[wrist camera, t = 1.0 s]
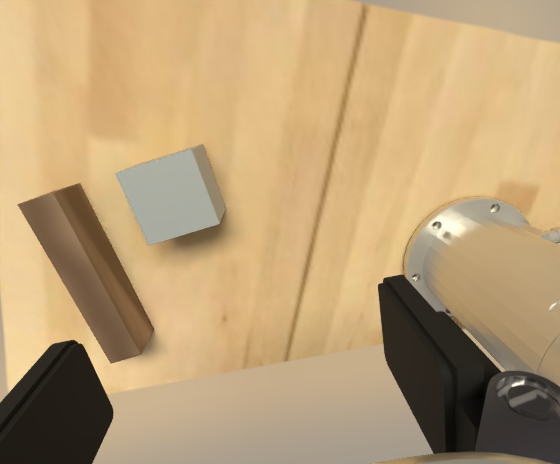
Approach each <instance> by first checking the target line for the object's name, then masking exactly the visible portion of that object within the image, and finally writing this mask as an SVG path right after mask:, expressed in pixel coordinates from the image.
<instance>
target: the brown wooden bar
mask: <svg viewBox="0 0 560 464" xmlns="http://www.w3.org/2000/svg"><path fill="white" fill-rule="evenodd" d="M18 206H19V208H20V209H21V211H22V213H23V215H24V216H25V218H26V220H27V221H28V223H29V225H30V227H31V228H32V230H33V232H34V233H35V235H36V237H37V238H38V240H39V242H40V244H41V245H42V247H43V249H44V250H45V252H46V254H47V256H48V257H49V259H50V261H51V262H52V264H53V266H54V267H55V269H56V271H57V273H58V274H59V276H60V278H61V279H62V281H63V283H64V285H65V286H66V288H67V290H68V291H69V293H70V295H71V296H72V298H73V300H74V302H75V303H76V305H77V307H78V308H79V310H80V312H81V314H82V315H83V317H84V319H85V320H86V322H87V324H88V326H89V327H90V329H91V331H92V332H93V334H94V336H95V337H96V339H97V341H98V343H99V344H100V346H101V348H102V349H103V351H104V353H105V355H106V356H107V358H108V360H109V361H110V363H115V362H118V361H121V360H125V359H128V358H132V357H135V356H139V355H141V354H142V352H143V350H144V348H145V346H146V344H147V342H148V340H149V338H150V336H151V334H152V332H153V330H154V328H153V326H152V324H151V322H150V320H149V318H148V316H147V314H146V312H145V310H144V309H143V307H142V305H141V303H140V301H139V299H138V297H137V295H136V293H135V291H134V289H133V287H132V285H131V283H130V281H129V279H128V277H127V275H126V273H125V271H124V269H123V267H122V265H121V263H120V261H119V260H118V258H117V256H116V254H115V252H114V250H113V248H112V246H111V244H110V242H109V240H108V238H107V236H106V234H105V232H104V230H103V228H102V226H101V224H100V222H99V220H98V218H97V216H96V214H95V212H94V210H93V209H92V207H91V205H90V203H89V201H88V199H87V197H86V195H85V193H84V191H83V189H82V187H81V185H80V183H79V184H75V185H72V186H69V187H66V188H63V189H60V190H57V191H54V192H50V193H47V194H45V195H42V196H39V197H37V198H34V199H31V200H29V201H26V202H23V203H20V204H18Z"/></svg>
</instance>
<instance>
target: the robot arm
mask: <svg viewBox="0 0 560 464" xmlns="http://www.w3.org/2000/svg"><path fill="white" fill-rule="evenodd" d="M433 223H434V224H433ZM556 243H560V227H557V228H553V229H551V230H549V231H546V232H544V231H542V230H539V229H537V228H535V227H532V226H530V224H529V222H528V220H527V219H526V217H525V216H524V215H523V214H522V213H521V211H519V210H518V209H516V208H515V207H514V206H512V205H510V204H508V203H506V202H503V201H501V200H497V199H494V198H491V197H480V196H476V197H467V198H462V199H459V200H456V201H452V202H450V203H448V204H446V205H444V206H442V207H440V208H439V209H438V210H436V211H435V212H433V213H432V214H431V215H429V216H428V217H427V218H426V219H425V220H424V221H423V222H422V223H421V224H420V226H419V227H418V228H417V230H416V231H415V232H414V234H413V235H412V238H411V240H410V242H409V244H408V246H407V249H406V253H405V257H404V274H405V276H404V275H397V276H392V277H387V278H384V279H383V283H381V284H379V285H378V292H379V302H380V312H381V323H382V333H383V343H384V353H385V357H386V361H387V364H388V366H389V368H390V370H391V372H392V374H393V376H394V378H395V380H396V382H397V384H398V386H399V388H400V389H401V391H402V393H403V395H404V397H405V399H406V401H407V403H408V405H409V407H410V409H411V410H412V413H413V415H414V416H415V418H416V420H417V422H418V424H419V426H420V428H421V430H422V432H423V434H424V436H425V438H426V440H427V442H428V443H429V445H430V447H431V449H432V451H433V453H434V454H430V455H421V456H414V457H407V458H401V459H395V460H389V461H383V462H377V463H371V464H560V245H558V244H556ZM449 316H451V317H456V319H457V320H458V321H459V322H460V323H461V324H462V325H463V326H464V327H465V328H466V329H467V330H468V331H469V332H470V333H471V334H472V335H473V336H474V337H475V339H476V340H477V341H478V342H479V343H480V344H481V345H482V346H483V347H484V348H485V349H486V350H487V351H488V352H489V353H490V354H491V356H492V357H493V358H494V359H495V360H496V361H497V362H498V363H499V364H500V365H501V366H502V367H503V368H504V369H505V370H506V371H505V372H501V371H500V370H499V369H498V368H497V367H496V366H495V365H494V364H493V362H492V361H491V360H490V359H489V358H488V357H487V356H486V355H485V354H484V353H483V352H482V351H481V350H480V349H479V348H478V346H476V344H475V343H474V342H473V341H472V340H471V339H470V338H469V337H468V336H467V335H466V334H465V333H464V332H463V331H462V330H461V328H460V327H459V326H458V325H457V324H456V323H455V322H454V321H453V320H452V319H451V318H450V317H449ZM112 419H113V408H112V405H111V403H110V401H109V399H108V397H107V395H106V392H105V390H104V388H103V386H102V384H101V382H100V380H99V378H98V375H97V373H96V371H95V369H94V367H93V365H92V363H91V361H90V358H89V356H88V354H87V352H86V350H85V348H84V346H83V345H82V344H78V342H76V341H75V340H70V341H65V342H60V343H55V344H52V345H51V346H50V347H49V348H48V349H47V350H46V352H45V353H44V354H43V355H42V356H41V357H40V358H39V359H38V361H37V362H36V363H35V364H34V365H33V366H32V367H31V369H30V370H29V371H28V372H27V373H26V374H25V375H24V377H23V378H22V379H21V380H20V381H19V382H18V383H17V384H16V386H15V387H14V388H13V389H12V390H11V391H10V392H9V394H8V395H7V396H6V397H5V398H4V399H3V400H2V402H1V403H0V464H92V463H93V460H94V458H95V456H96V454H97V452H98V450H99V448H100V445H101V443H102V441H103V439H104V437H105V435H106V433H107V430H108V428H109V426H110V424H111V422H112Z"/></svg>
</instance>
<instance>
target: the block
mask: <svg viewBox="0 0 560 464" xmlns="http://www.w3.org/2000/svg"><path fill="white" fill-rule="evenodd" d="M115 175H116V177H117V179H118V181H119V183H120V185H121V187H122V190H123V192H124V194H125V196H126V198H127V200H128V202H129V205H130V207H131V209H132V211H133V213H134V215H135V217H136V220H137V222H138V224H139V226H140V228H141V230H142V233H143V235H144V237H145V239H146V241H147V243H148V245H152V244H155V243H158V242H162V241H165V240H168V239H172V238H175V237H178V236H181V235H185V234H188V233H191V232H195V231H198V230H201V229H205V228H208V227H211V226H215V225H218V224H220V222H221V219H222V217H223V214H224V212H225V209H226V206H225V203H224V201H223V198H222V195H221V193H220V190H219V187H218V184H217V182H216V179H215V176H214V173H213V171H212V168H211V165H210V162H209V160H208V157H207V154H206V152H205V149H204V146H203V144H201V145H198V146H194V147H191V148H188V149H185V150H182V151H179V152H176V153H172V154H169V155H166V156H163V157H160V158H157V159H153V160H150V161H147V162H144V163H141V164H138V165H135V166H133V167H130V168H128V169H125V170H123V171H120V172H118V173H115Z"/></svg>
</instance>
